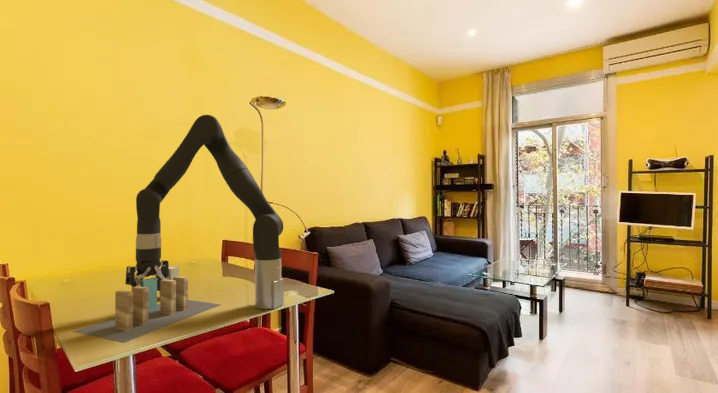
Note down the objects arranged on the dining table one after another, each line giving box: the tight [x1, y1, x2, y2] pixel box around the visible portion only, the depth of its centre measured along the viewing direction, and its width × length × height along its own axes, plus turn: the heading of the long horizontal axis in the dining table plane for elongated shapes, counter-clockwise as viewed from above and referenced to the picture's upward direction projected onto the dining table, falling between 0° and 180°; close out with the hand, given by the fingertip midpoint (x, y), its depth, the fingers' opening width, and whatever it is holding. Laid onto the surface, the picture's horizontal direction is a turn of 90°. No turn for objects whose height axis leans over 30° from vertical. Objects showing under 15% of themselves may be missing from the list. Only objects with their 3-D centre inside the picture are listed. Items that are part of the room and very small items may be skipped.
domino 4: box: [159, 279, 176, 315], centre depth 118 cm, size 2×5×11 cm, turn 69°
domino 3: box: [131, 285, 149, 325], centre depth 109 cm, size 2×5×11 cm, turn 69°
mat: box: [71, 299, 222, 344], centre depth 114 cm, size 22×36×1 cm, turn 159°
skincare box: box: [158, 266, 180, 294], centre depth 137 cm, size 6×4×12 cm
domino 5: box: [173, 275, 189, 310], centre depth 123 cm, size 2×5×11 cm, turn 69°
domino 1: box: [114, 289, 133, 331], centre depth 104 cm, size 2×5×11 cm, turn 69°
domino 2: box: [139, 276, 158, 312], centre depth 120 cm, size 2×5×11 cm, turn 159°
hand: (148, 293), depth 120 cm, fingers open, 8 cm apart
